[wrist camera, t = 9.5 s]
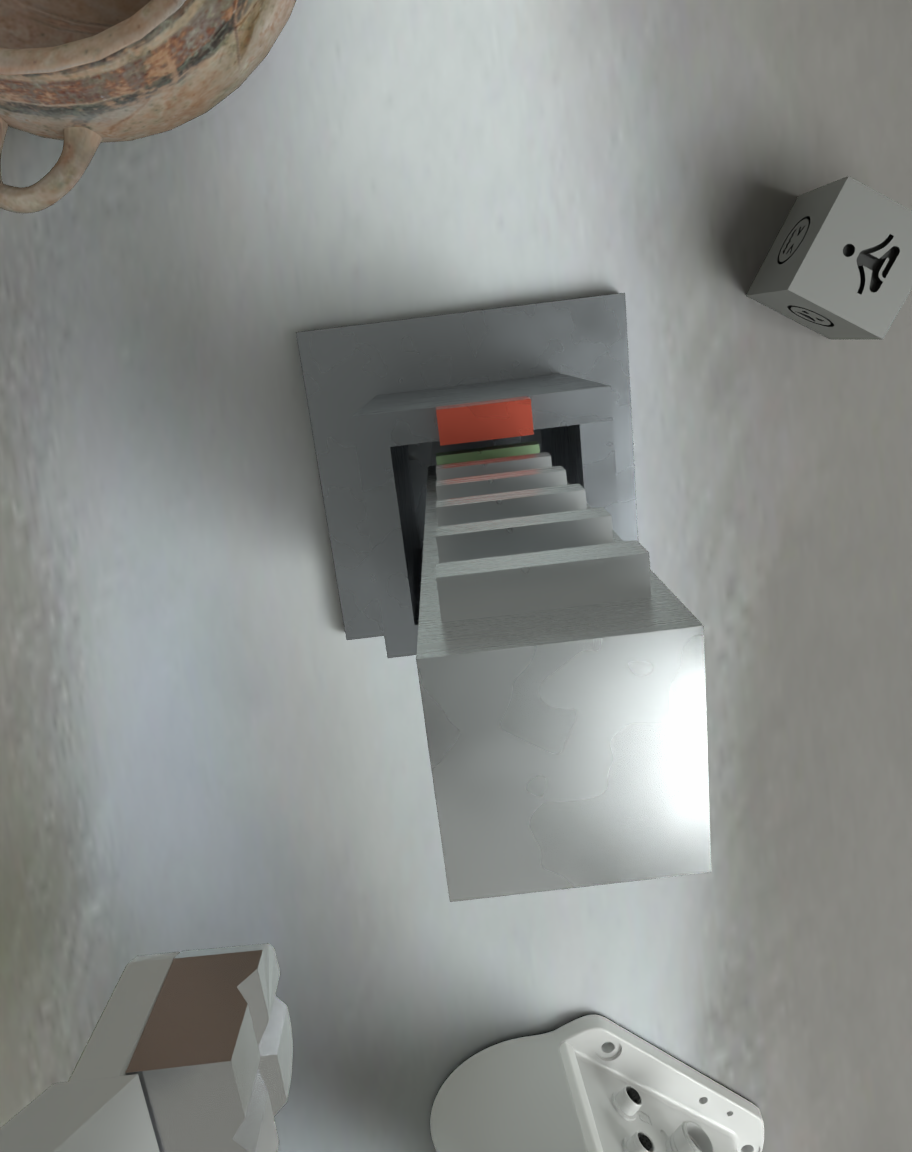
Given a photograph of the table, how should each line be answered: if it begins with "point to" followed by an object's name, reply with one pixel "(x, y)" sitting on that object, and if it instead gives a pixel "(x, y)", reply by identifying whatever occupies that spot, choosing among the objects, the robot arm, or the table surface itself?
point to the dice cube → (840, 262)
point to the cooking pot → (120, 72)
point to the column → (554, 687)
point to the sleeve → (457, 430)
